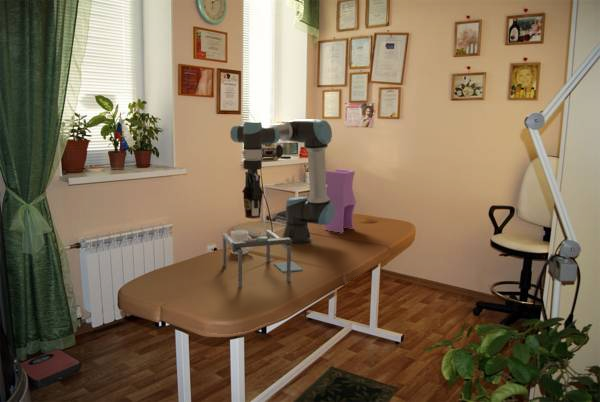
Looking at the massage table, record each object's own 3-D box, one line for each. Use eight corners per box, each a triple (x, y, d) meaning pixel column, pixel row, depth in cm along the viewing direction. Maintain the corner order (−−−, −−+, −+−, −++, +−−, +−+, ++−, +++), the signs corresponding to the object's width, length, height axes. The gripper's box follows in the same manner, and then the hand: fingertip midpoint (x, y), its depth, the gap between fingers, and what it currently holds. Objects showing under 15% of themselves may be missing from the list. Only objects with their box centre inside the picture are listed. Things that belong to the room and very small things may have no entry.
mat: (273, 264, 217) (273, 263, 216) (292, 262, 220) (292, 261, 220) (282, 272, 206) (282, 271, 205) (302, 270, 209) (302, 269, 209)
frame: (222, 266, 213) (222, 233, 210) (269, 261, 220) (269, 229, 218) (238, 287, 187) (238, 250, 184) (290, 281, 195) (291, 245, 192)
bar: (231, 250, 189) (231, 238, 189) (289, 245, 198) (289, 234, 197) (233, 252, 187) (233, 240, 186) (291, 247, 195) (292, 236, 195)
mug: (257, 252, 235) (258, 232, 233) (248, 257, 227) (248, 235, 225) (237, 249, 240) (237, 229, 238) (227, 253, 233) (227, 232, 231)
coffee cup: (246, 220, 198) (246, 189, 196) (239, 216, 205) (239, 186, 203) (265, 218, 202) (266, 187, 200) (258, 214, 209) (258, 185, 207)
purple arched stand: (334, 226, 295) (336, 169, 288) (354, 229, 287) (356, 170, 280) (322, 230, 283) (323, 170, 277) (342, 233, 276) (344, 172, 269)
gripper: (237, 157, 207) (237, 209, 211) (250, 162, 189) (250, 219, 193) (254, 157, 210) (254, 208, 214) (268, 161, 192) (268, 218, 196)
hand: (252, 213), depth 203 cm, fingers closed on coffee cup, 7 cm apart
